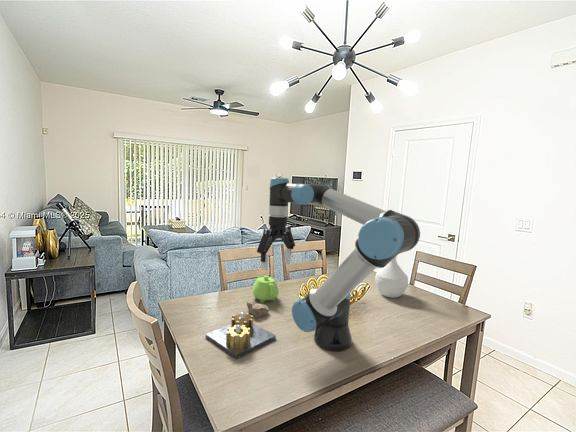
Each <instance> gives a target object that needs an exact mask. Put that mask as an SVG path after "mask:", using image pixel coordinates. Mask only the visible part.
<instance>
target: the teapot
mask: <svg viewBox="0 0 576 432" xmlns="http://www.w3.org/2000/svg"><path fill="white" fill-rule="evenodd" d="M252 294H253V296H254V297H255V299H257V300H259V302H260V304H264V303H265V302H266V301H271V302H274V301H276V299H277V297H278V296H279V287H278V284H277V282H276V279H275V278H273V277H271V276H269V275H263V276H261V275H259V274H257V275H256V280H255V282H254V284H253V287H252Z"/></svg>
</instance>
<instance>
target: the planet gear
mask: <svg viewBox="0 0 576 432" xmlns="http://www.w3.org/2000/svg"><path fill="white" fill-rule="evenodd" d="M249 343H250V328H246V327H245V325H242V326H241V333H236V325H234V327H232V328H230V327H229V328H228V329H227V332H226V345H227V346H228V345H229V346H231V349H234V348H240V349H243V347H244V346H249Z"/></svg>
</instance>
